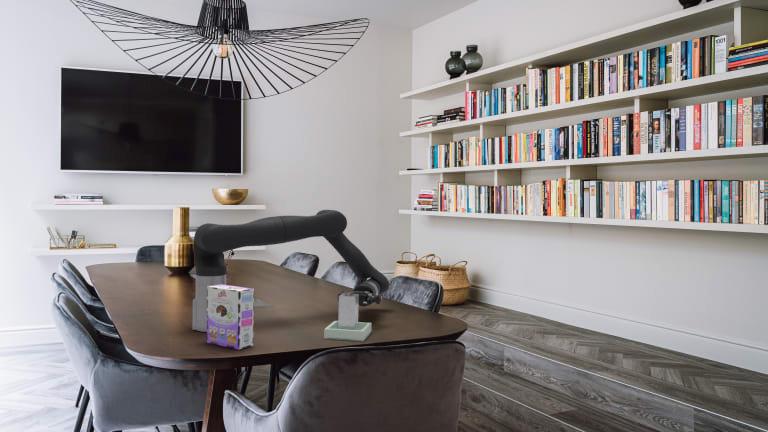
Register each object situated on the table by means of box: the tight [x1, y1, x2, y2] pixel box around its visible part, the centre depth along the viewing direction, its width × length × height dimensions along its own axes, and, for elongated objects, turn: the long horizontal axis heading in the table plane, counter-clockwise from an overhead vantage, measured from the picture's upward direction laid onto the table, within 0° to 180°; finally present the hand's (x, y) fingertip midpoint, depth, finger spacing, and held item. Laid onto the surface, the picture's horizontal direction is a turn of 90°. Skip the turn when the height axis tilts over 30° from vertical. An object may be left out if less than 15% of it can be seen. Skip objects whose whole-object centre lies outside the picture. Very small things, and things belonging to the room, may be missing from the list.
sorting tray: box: [323, 320, 372, 343], centre depth 176 cm, size 12×12×3 cm
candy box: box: [206, 284, 255, 351], centre depth 162 cm, size 14×6×16 cm, turn 56°
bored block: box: [337, 293, 359, 330], centre depth 176 cm, size 5×5×12 cm
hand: (355, 301), depth 183 cm, fingers open, 8 cm apart
